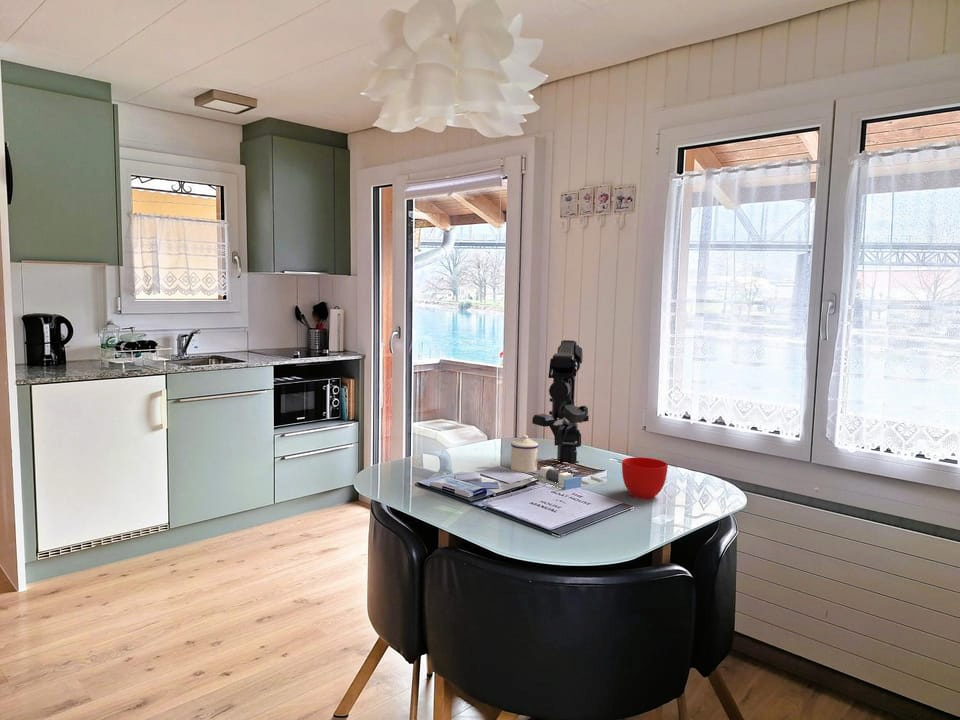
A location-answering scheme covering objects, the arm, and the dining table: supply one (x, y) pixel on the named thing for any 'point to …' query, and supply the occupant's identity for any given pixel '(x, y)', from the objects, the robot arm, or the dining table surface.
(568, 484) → the white ribbed plate
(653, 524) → the dining table surface
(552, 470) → the cream and grey dumbbell
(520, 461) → the cream lidded jar
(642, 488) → the ceramic cup
